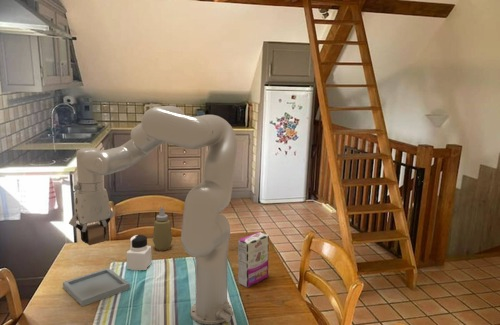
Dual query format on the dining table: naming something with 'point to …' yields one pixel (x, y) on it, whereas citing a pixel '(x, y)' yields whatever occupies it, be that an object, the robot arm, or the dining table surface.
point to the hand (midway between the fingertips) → (93, 239)
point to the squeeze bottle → (162, 231)
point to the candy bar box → (253, 259)
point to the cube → (95, 234)
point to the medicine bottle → (138, 253)
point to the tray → (95, 286)
